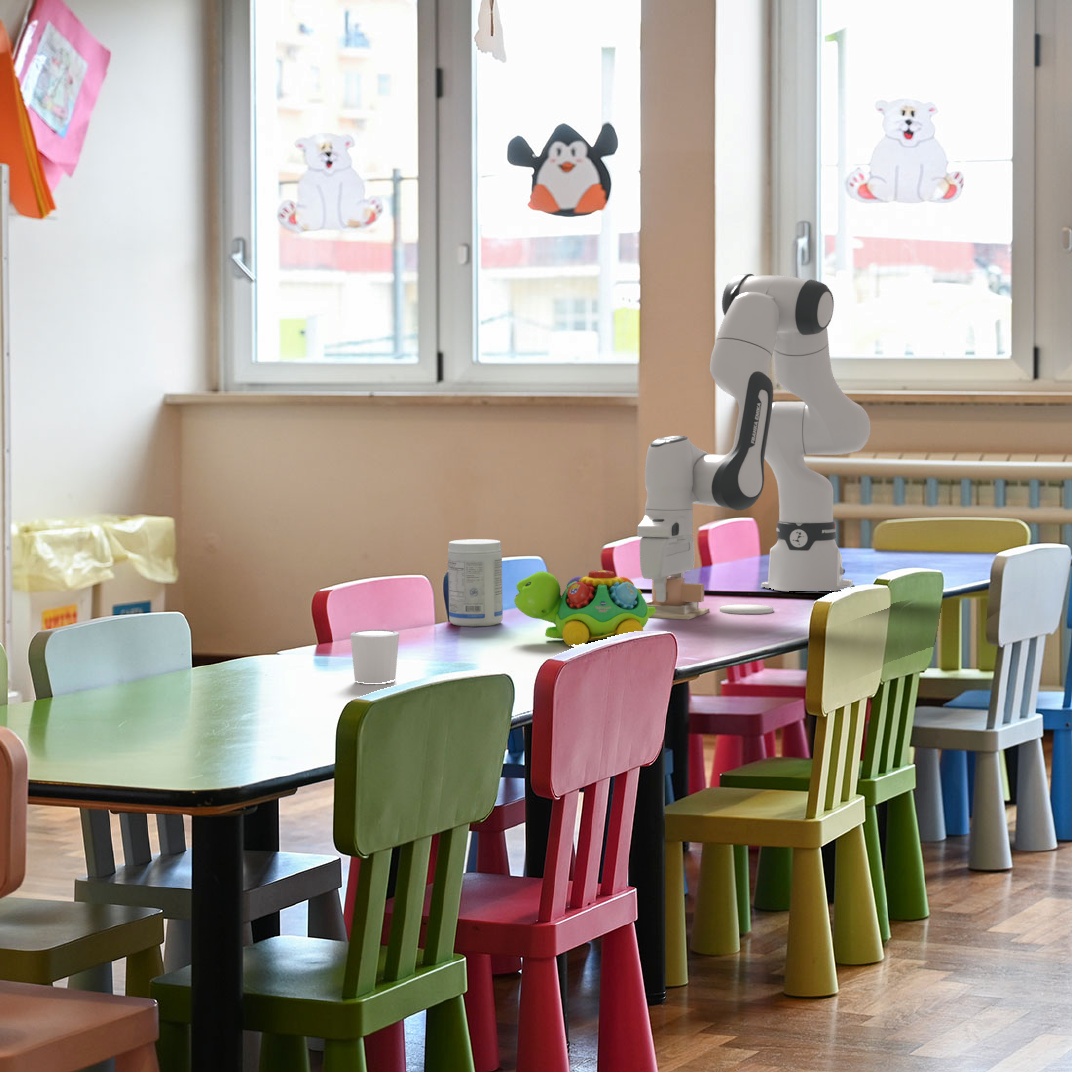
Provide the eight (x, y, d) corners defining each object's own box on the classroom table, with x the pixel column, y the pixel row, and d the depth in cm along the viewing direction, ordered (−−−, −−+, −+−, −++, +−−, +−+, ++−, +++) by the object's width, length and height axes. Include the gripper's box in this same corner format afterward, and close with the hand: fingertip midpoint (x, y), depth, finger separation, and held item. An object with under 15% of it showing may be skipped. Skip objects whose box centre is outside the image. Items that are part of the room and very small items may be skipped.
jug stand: (648, 608, 326) (648, 598, 326) (709, 611, 321) (709, 601, 321) (626, 616, 315) (626, 605, 315) (688, 619, 310) (688, 608, 310)
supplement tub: (481, 618, 312) (480, 538, 310) (513, 624, 304) (513, 541, 303) (437, 623, 305) (437, 540, 304) (469, 628, 298) (469, 544, 297)
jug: (658, 608, 322) (658, 576, 321) (707, 610, 318) (707, 578, 317) (647, 611, 316) (647, 579, 316) (697, 614, 312) (697, 581, 312)
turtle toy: (514, 635, 291) (514, 566, 290) (651, 634, 292) (651, 565, 291) (514, 649, 274) (514, 576, 273) (660, 649, 275) (660, 575, 274)
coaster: (728, 606, 329) (728, 603, 329) (779, 609, 325) (779, 606, 325) (712, 612, 320) (712, 609, 320) (764, 615, 316) (765, 612, 316)
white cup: (343, 680, 244) (342, 631, 243) (387, 676, 247) (386, 628, 247) (362, 687, 238) (362, 637, 237) (407, 683, 241) (407, 633, 241)
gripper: (671, 520, 327) (670, 592, 328) (633, 527, 309) (633, 604, 310) (702, 521, 325) (702, 594, 326) (667, 528, 306) (666, 606, 307)
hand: (668, 599), depth 318 cm, fingers closed on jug, 6 cm apart
